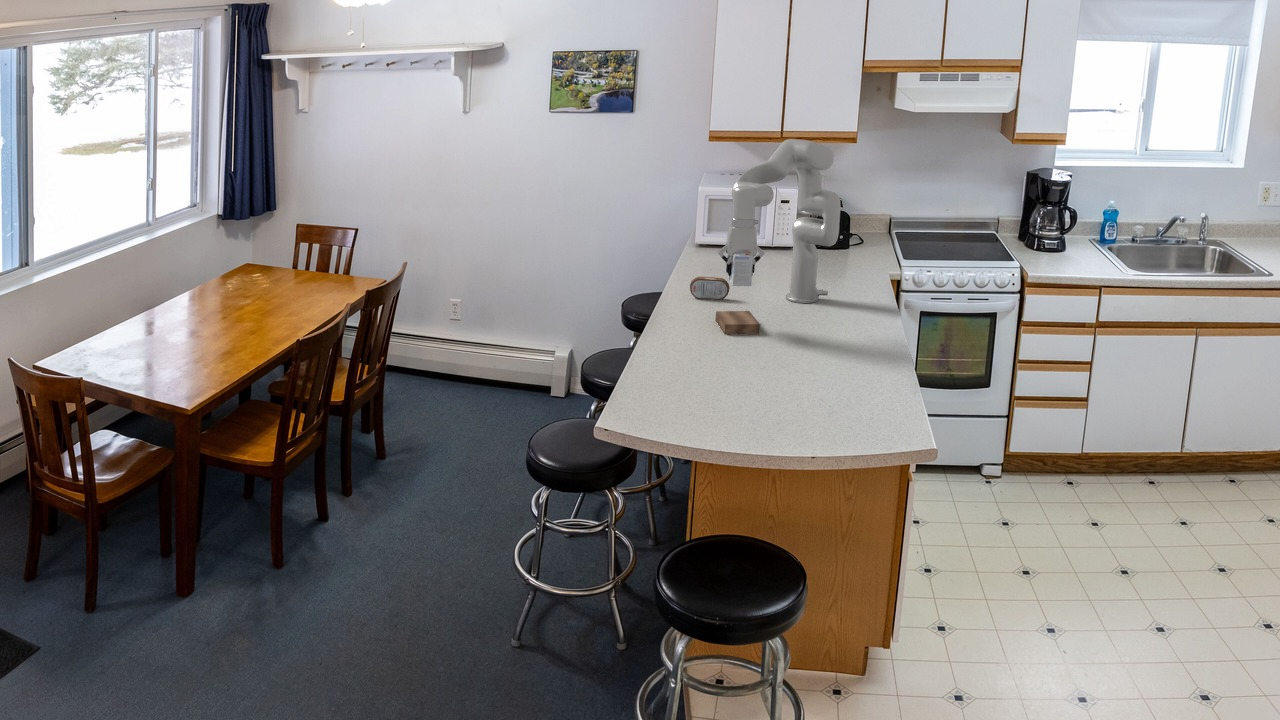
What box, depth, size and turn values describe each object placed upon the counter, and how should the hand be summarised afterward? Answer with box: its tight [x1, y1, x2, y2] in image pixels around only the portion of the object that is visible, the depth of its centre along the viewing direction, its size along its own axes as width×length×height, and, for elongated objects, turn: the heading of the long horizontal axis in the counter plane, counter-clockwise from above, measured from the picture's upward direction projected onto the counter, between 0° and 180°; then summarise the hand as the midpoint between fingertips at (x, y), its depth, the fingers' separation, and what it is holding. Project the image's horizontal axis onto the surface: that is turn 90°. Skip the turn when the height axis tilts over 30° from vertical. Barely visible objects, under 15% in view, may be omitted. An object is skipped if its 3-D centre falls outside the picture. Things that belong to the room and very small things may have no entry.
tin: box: [689, 276, 730, 301], centre depth 393 cm, size 15×3×8 cm, turn 84°
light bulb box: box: [727, 253, 753, 287], centre depth 353 cm, size 11×7×11 cm, turn 5°
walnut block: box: [715, 310, 761, 335], centre depth 359 cm, size 12×16×4 cm
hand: (740, 274), depth 354 cm, fingers closed on light bulb box, 6 cm apart
